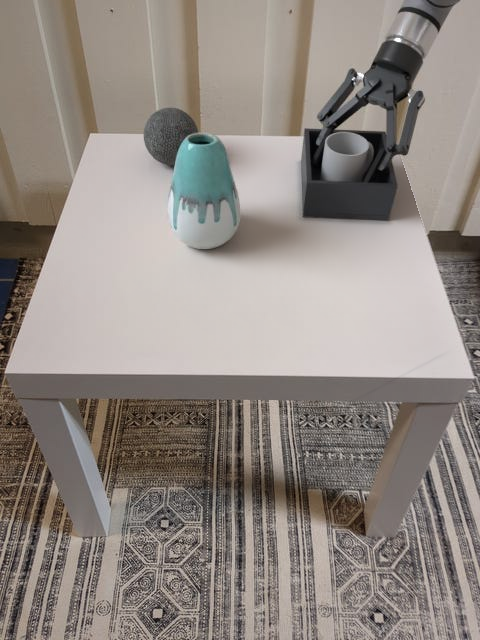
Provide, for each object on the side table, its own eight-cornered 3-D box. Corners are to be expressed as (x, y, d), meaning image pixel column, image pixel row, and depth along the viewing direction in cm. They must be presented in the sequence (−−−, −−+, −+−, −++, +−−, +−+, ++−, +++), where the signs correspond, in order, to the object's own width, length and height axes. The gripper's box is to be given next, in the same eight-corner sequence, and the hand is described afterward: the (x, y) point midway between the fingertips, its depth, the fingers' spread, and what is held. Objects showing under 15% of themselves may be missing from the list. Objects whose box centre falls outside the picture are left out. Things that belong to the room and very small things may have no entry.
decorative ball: (193, 142, 111) (191, 94, 104) (204, 171, 105) (202, 122, 97) (143, 149, 109) (136, 100, 102) (151, 179, 103) (145, 129, 95)
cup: (310, 183, 101) (316, 139, 94) (354, 167, 104) (363, 123, 98) (335, 205, 97) (342, 160, 90) (380, 188, 100) (390, 143, 94)
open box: (388, 220, 96) (397, 186, 91) (302, 217, 96) (306, 182, 91) (377, 164, 107) (385, 131, 102) (300, 161, 107) (304, 128, 102)
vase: (193, 204, 98) (187, 108, 85) (252, 226, 95) (256, 128, 81) (156, 243, 92) (143, 145, 78) (218, 268, 88) (215, 169, 74)
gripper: (469, 80, 91) (402, 206, 95) (351, 44, 101) (294, 160, 104) (465, 58, 85) (393, 195, 88) (339, 21, 94) (278, 147, 97)
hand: (339, 176), depth 96 cm, fingers open, 9 cm apart
